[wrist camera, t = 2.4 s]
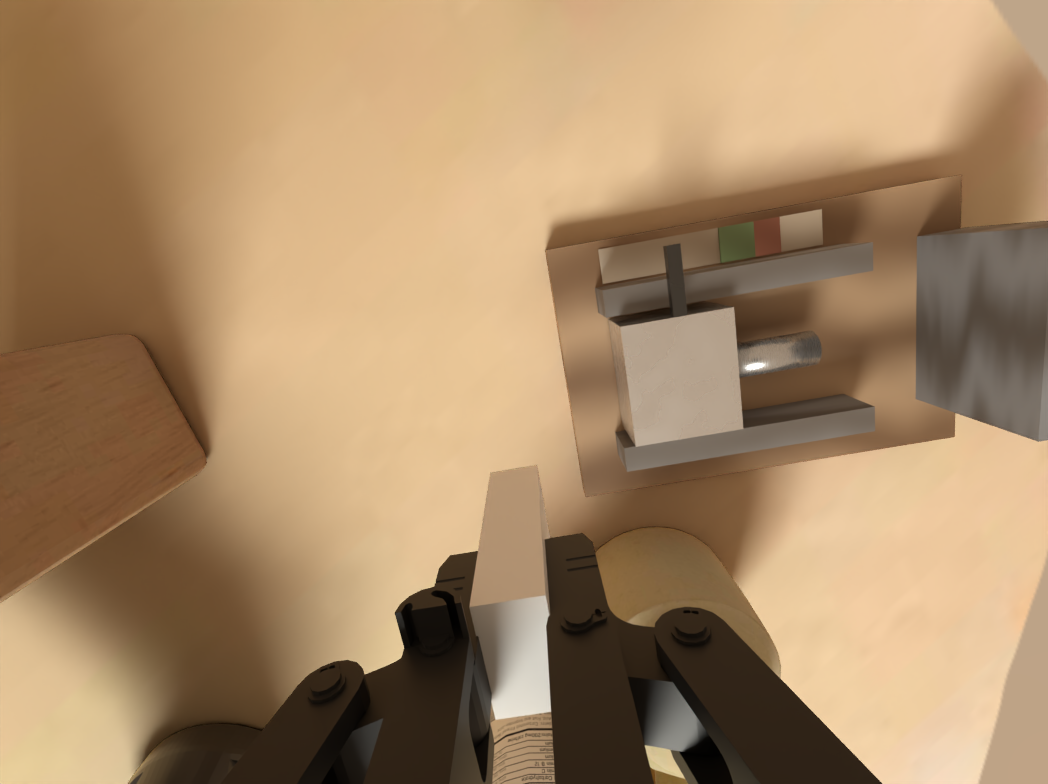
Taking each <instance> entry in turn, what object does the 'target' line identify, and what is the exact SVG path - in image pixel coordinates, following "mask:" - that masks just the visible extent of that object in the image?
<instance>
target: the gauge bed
mask: <svg viewBox="0 0 1048 784" xmlns="http://www.w3.org/2000/svg"><path fill="white" fill-rule="evenodd" d="M961 188H962V175H956V176H951V177H945V178H940V179H934V180H929V181H923V182H918V183H912V184H907V185H901V186H896V187H890V188H885V189H879V190H874V191H868V192H863V193H857V194H852V195H846V196H841V197H835V198H830V199H824V200H819V201H813V202H808V203H802V204H797V205H791V206H786V207H780V208H775V209H769V210H764V211H758V212H753V213H747V214H742V215H736V216H731V217H725V218H720V219H714V220H709V221H703V222H698V223H692V224H687V225H681V226H676V227H670V228H665V229H659V230H654V231H648V232H643V233H637V234H632V235H626V236H621V237H615V238H610V239H605V240H599V241H594V242H588V243H583V244H577V245H572V246H566V247H561V248H555V249H550V250H546V251H545V252H546V259H547V265H548V271H549V277H550V284H551V290H552V296H553V302H554V309H555V315H556V321H557V327H558V334H559V340H560V346H561V352H562V359H563V365H564V371H565V377H566V384H567V390H568V396H569V402H570V409H571V415H572V421H573V427H574V433H575V440H576V446H577V452H578V458H579V465H580V471H581V477H582V483H583V489H584V492H585V496H586V497H589V496H595V495H601V494H608V493H614V492H620V491H626V490H632V489H638V488H644V487H650V486H657V485H663V484H669V483H675V482H681V481H687V480H693V479H700V478H706V477H712V476H718V475H724V474H730V473H736V472H742V471H749V470H755V469H761V468H767V467H773V466H779V465H785V464H791V463H798V462H804V461H810V460H816V459H822V458H828V457H834V456H840V455H847V454H853V453H859V452H865V451H871V450H877V449H883V448H890V447H896V446H902V445H908V444H914V443H920V442H926V441H932V440H939V439H945V438H951V437H955V413H957V414H960V415H963V416H966V417H969V418H972V419H975V420H978V421H980V422H983V423H986V424H989V425H992V426H995V427H998V428H1001V429H1004V430H1007V431H1009V432H1012V433H1015V434H1018V435H1021V436H1024V437H1027V438H1030V439H1033V440H1035V441H1045V440H1048V221H1040V222H1027V223H1015V224H1002V225H990V226H977V227H967V228H962V229H960V224H961ZM678 243H680V244H681V254H682V264H683V274H684V284H685V295H686V305H690V304H696V303H702V302H712V303H717V304H722V305H727V306H732V307H734V313H735V326H736V339H737V343H740V342H746V341H752V340H758V339H764V338H769V337H775V336H781V335H787V334H793V333H798V332H804V331H813V332H815V333H816V335H817V336H818V338H819V340H820V343H821V348H822V356H821V360H820V362H819V363H818V364H817V365H812V366H807V367H801V368H795V369H789V370H783V371H777V372H771V373H765V374H760V375H754V376H748V377H742V378H740V391H741V404H742V417H743V429H740V430H734V431H728V432H722V433H716V434H710V435H704V436H698V437H692V438H686V439H680V440H674V441H668V442H662V443H656V444H650V445H644V446H638V447H636V446H635V444H634V443H633V441H632V440H631V438H630V436H629V435H628V433H627V432H626V430H625V428H624V427H623V425H622V418H621V411H620V403H619V396H618V389H617V381H616V374H615V367H614V359H613V352H612V345H611V337H610V330H609V322H608V319H611V318H617V317H622V316H628V315H634V314H639V313H645V312H651V311H656V310H662V309H668V308H670V306H669V296H668V287H667V278H666V268H665V259H664V249H663V246H667V245H672V244H678Z"/></svg>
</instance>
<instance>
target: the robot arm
mask: <svg viewBox="0 0 1048 784" xmlns="http://www.w3.org/2000/svg"><path fill="white" fill-rule="evenodd" d="M395 615H396V619H397V623H398V626H399V630H400V634H401V637H402V641H403V645H404V651H403V655H402V658H401V659H399V660H398V661H396V662H394V663H392V664H390V665H388V666H386V667H383V668H381V669H378V670H376V671H373V672H371V673H368V674H365V675H364V671H363V668H362V667H361V666H360V665H359V664H358V663H357V662H353V661H349V660H344V661H336V662H333V663H330V664H327V665H325V666H322V667H320V668H319V669H317V670H316V671H314V672H312V673H311V674H309V675H308V676H307V677H306V678H305V679H304V680H303V681H302V682H301V683H300V684H299V685H298V686H297V687H296V689H295V690H294V691H293V692H292V694H291V695H290V696H289V697H288V699H287V700H286V701H285V703H284V704H283V705H282V706H281V708H280V709H279V710H278V711H277V713H276V714H275V715H274V716H273V718H272V719H271V720H270V721H269V723H268V724H267V725H266V727H265V728H264V729H263V730H262V731H260V730H257V729H254V728H250V727H246V726H240V725H233V724H207V725H200V726H195V727H191V728H188V729H185V730H182V731H179V732H177V733H175V734H173V735H171V736H169V737H168V738H166V739H165V740H163V741H162V742H161V743H159V744H158V745H157V746H156V747H155V748H154V749H153V750H152V751H151V752H150V754H149V755H148V756H147V758H146V759H145V760H144V762H143V763H142V764H141V766H140V767H139V768H138V770H137V771H136V772H135V773H134V775H133V776H132V778H131V779H130V781H129V782H128V784H492V779H493V761H494V737H493V732H492V728H491V724H490V713H491V702H492V707H493V711H494V715H495V720H498V719H505V718H512V717H519V716H525V715H532V714H539V713H546V712H551V719H552V737H553V754H554V772H555V784H654V781H653V777H652V773H651V769H650V765H649V761H648V757H647V753H646V749H645V745H647V746H652V747H658V748H664V749H669V750H671V753H672V756H673V759H674V760H675V762H676V764H677V765H678V767H679V769H680V771H681V772H682V774H683V776H684V778H685V779H686V781H687V783H688V784H882V783H881V782H880V781H879V780H878V779H877V778H876V777H875V776H874V775H873V774H872V773H871V772H870V771H869V770H868V769H867V768H866V767H865V765H864V764H863V763H862V762H861V761H860V760H859V759H858V758H857V757H856V756H855V755H854V754H853V753H852V752H851V751H850V750H849V749H848V748H847V747H846V746H845V745H844V744H843V743H842V742H841V741H840V740H839V739H838V738H837V737H836V736H835V735H834V734H833V732H832V731H831V730H830V729H829V728H828V727H827V726H826V725H825V724H824V723H823V722H822V721H821V720H820V719H819V718H818V717H817V716H816V715H815V714H814V713H813V712H812V711H811V710H810V709H809V708H808V707H807V706H806V705H805V704H804V703H803V702H802V700H801V699H800V698H799V697H798V696H797V695H796V694H795V693H794V692H793V691H792V690H791V689H790V688H789V687H788V686H787V685H786V684H785V683H784V682H783V681H782V680H781V679H780V678H779V677H778V676H777V675H776V674H775V673H774V672H773V671H772V670H771V668H770V667H769V666H768V665H767V664H766V663H765V662H764V661H763V660H762V659H761V658H760V657H759V656H758V655H757V654H756V653H755V652H754V651H753V650H752V649H751V648H750V647H749V646H748V645H747V644H746V643H745V642H744V641H743V640H742V639H741V638H740V637H739V635H738V634H737V633H736V632H735V631H734V630H733V629H732V628H731V627H730V626H729V625H728V624H727V623H726V622H725V621H724V620H723V619H722V618H720V617H719V616H717V615H716V614H715V613H713V612H711V611H708V610H705V609H702V608H696V607H681V608H675V609H672V610H670V611H668V612H666V613H664V614H662V615H661V616H660V618H659V619H658V620H657V621H656V622H655V627H648V626H640V625H634V624H631V623H628V622H625V621H623V620H621V619H620V618H618V617H617V616H615V615H614V614H613V612H612V611H611V610H610V608H609V606H608V603H607V599H606V595H605V591H604V587H603V583H602V579H601V575H600V571H599V567H598V562H597V558H596V554H595V550H594V546H593V542H592V541H590V540H589V539H588V538H587V537H586V536H585V535H584V534H583V533H580V534H574V535H568V536H561V537H555V538H550V534H549V528H548V522H547V517H546V511H545V506H544V500H543V495H542V489H541V484H540V478H539V473H538V467H537V465H534V466H528V467H522V468H516V469H510V470H504V471H498V472H492V473H490V479H489V485H488V491H487V498H486V504H485V510H484V517H483V523H482V529H481V536H480V542H479V549H478V551H476V552H469V553H463V554H457V555H450V556H449V557H448V559H447V560H446V561H445V562H444V563H443V564H442V566H441V567H440V568H439V571H438V575H437V579H436V584H435V586H434V587H432V588H428V589H424V590H421V591H419V592H417V593H415V594H413V595H411V596H409V597H408V598H407V599H406V600H405V601H403V602H402V603H401V604H400V605H399V607H398V609H397V610H396V612H395Z"/></svg>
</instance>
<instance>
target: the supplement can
mask: <svg viewBox="0 0 1048 784" xmlns="http://www.w3.org/2000/svg"><path fill="white" fill-rule="evenodd" d="M490 724H491V728H492V732H493V737H494V761H493V779H492V784H555V772H554V754H553V737H552V719H551V712H546V713H539V714H532V715H525V716H519V717H512V718H505V719H498V720H495V715H494V711H493V707H492V702H491V713H490Z"/></svg>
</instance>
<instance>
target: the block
mask: <svg viewBox="0 0 1048 784" xmlns="http://www.w3.org/2000/svg"><path fill="white" fill-rule="evenodd" d="M206 463H207V462H206V455H205V453H204V451H203V449H202V447H201V446H200V444H199V442H198V440H197V439H196V437H195V435H194V433H193V431H192V430H191V428H190V426H189V424H188V423H187V421H186V419H185V417H184V415H183V414H182V412H181V410H180V408H179V407H178V405H177V403H176V401H175V400H174V398H173V396H172V394H171V392H170V391H169V389H168V387H167V385H166V384H165V382H164V380H163V378H162V377H161V375H160V373H159V371H158V369H157V368H156V366H155V364H154V362H153V361H152V359H151V357H150V355H149V354H148V352H147V350H146V348H145V346H144V345H143V343H142V342H141V341H140V340H139V339H137V338H136V337H135V336H133V335H126V334H115V335H109V336H103V337H98V338H92V339H86V340H80V341H75V342H69V343H63V344H58V345H52V346H46V347H40V348H35V349H29V350H23V351H18V352H12V353H6V354H1V355H0V603H1V602H3V601H4V600H6V599H7V598H9V597H10V596H12V595H13V594H15V593H16V592H18V591H20V590H21V589H23V588H24V587H26V586H27V585H29V584H30V583H32V582H33V581H35V580H36V579H38V578H39V577H41V576H43V575H44V574H46V573H47V572H49V571H50V570H52V569H53V568H55V567H56V566H58V565H59V564H61V563H62V562H64V561H66V560H67V559H69V558H70V557H72V556H73V555H75V554H76V553H78V552H79V551H81V550H82V549H84V548H85V547H87V546H89V545H90V544H92V543H93V542H95V541H96V540H98V539H99V538H101V537H102V536H104V535H105V534H107V533H108V532H110V531H112V530H113V529H115V528H116V527H118V526H119V525H121V524H122V523H124V522H125V521H127V520H128V519H130V518H131V517H133V516H135V515H136V514H138V513H139V512H141V511H142V510H144V509H145V508H147V507H148V506H150V505H151V504H153V503H154V502H156V501H158V500H159V499H161V498H162V497H164V496H165V495H167V494H168V493H170V492H171V491H173V490H174V489H176V488H177V487H179V486H181V485H182V484H184V483H185V482H187V481H188V480H190V479H191V478H193V477H194V476H196V475H197V474H198V473H199V472H200V471H201V470H202V469H203V468H204V467H205V465H206Z"/></svg>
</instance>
